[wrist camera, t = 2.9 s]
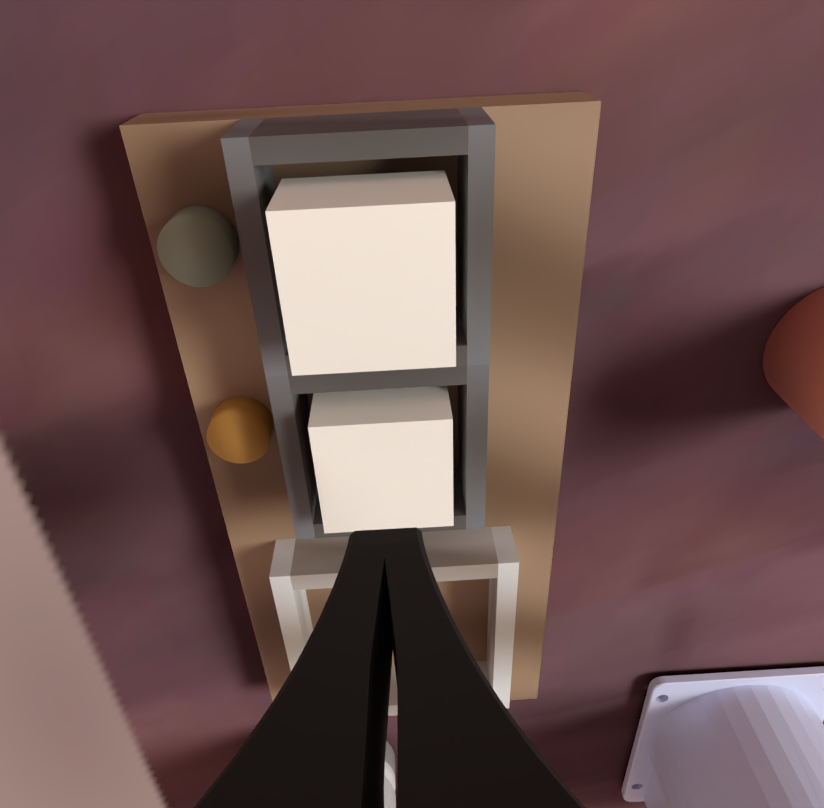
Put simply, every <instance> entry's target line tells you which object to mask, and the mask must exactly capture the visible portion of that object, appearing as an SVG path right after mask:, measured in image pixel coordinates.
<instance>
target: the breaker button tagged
mask: <svg viewBox="0 0 824 808" xmlns="http://www.w3.org/2000/svg"><path fill="white" fill-rule="evenodd" d="M308 431H309V438H310V444H311V451H312V457H313V463H314V470H315V476H316V483H317V489H318V496H319V502H320V508H321V515H322V521H323V528H324V534H325V533H342V532H354V531H361V530H378V529H396V528H414V527H416V528H427V527H444V526H454V512H453V418H452V412H451V406H450V400H449V394H448V388H447V386H431V387H413V388H396V389H378V390H360V391H342V392H324V393H313V399H312V405H311V411H310V418H309V424H308Z"/></svg>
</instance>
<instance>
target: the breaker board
mask: <svg viewBox="0 0 824 808" xmlns="http://www.w3.org/2000/svg"><path fill="white" fill-rule="evenodd" d="M600 108H601V100H599V99H597V98H595V97H593V96H591V95H589V94H587V93H585V92H583V91H573V92H553V93H534V94H514V95H494V96H475V97H455V98H435V99H416V100H396V101H376V102H357V103H337V104H317V105H298V106H278V107H258V108H239V109H219V110H199V111H180V112H160V113H141V114H140V115H138V116H136V117H134V118H132V119H130V120H128V121H127V122H125V123H123V124H121V125H119V127H120V131H121V135H122V138H123V142H124V146H125V150H126V153H127V157H128V161H129V165H130V168H131V172H132V176H133V180H134V183H135V187H136V191H137V195H138V198H139V202H140V206H141V210H142V213H143V217H144V221H145V225H146V228H147V232H148V236H149V240H150V243H151V247H152V251H153V255H154V258H155V262H156V266H157V270H158V273H159V277H160V281H161V285H162V288H163V292H164V296H165V300H166V303H167V307H168V311H169V314H170V318H171V322H172V326H173V329H174V333H175V337H176V341H177V344H178V348H179V352H180V356H181V359H182V363H183V367H184V371H185V374H186V378H187V382H188V386H189V389H190V393H191V397H192V401H193V404H194V408H195V412H196V416H197V419H198V423H199V427H200V431H201V434H202V438H203V442H204V446H205V449H206V453H207V457H208V461H209V464H210V468H211V472H212V476H213V479H214V483H215V487H216V491H217V494H218V498H219V502H220V506H221V509H222V513H223V517H224V521H225V524H226V528H227V532H228V536H229V539H230V543H231V547H232V551H233V554H234V558H235V562H236V566H237V569H238V573H239V577H240V581H241V584H242V588H243V592H244V596H245V599H246V603H247V607H248V611H249V614H250V618H251V622H252V626H253V629H254V633H255V637H256V641H257V644H258V648H259V652H260V656H261V659H262V663H263V667H264V671H265V674H266V678H267V682H268V686H269V689H270V693H271V697H272V701H273V700H274V699H275V697H276V696H277V694H278V692H279V691H280V689H281V688H282V686H283V684H284V683H285V681H286V679H287V678H288V676H289V674H290V672H291V671H292V669H293V667H294V665H295V664H296V662H297V660H298V658H299V657H300V655H301V653H302V651H303V649H304V647H305V645H306V643H307V641H308V639H309V637H310V635H311V633H312V631H313V629H314V628H315V626H316V624H317V621H318V619H319V617H320V615H321V613H322V611H323V608H324V606H325V604H326V601H327V599H328V597H329V595H330V592H331V590H332V588H333V585H334V583H335V580H336V578H337V575H338V572H339V570H340V567H341V564H342V561H343V558H344V555H345V552H346V548H347V545H348V540H349V536H350V535H351V534H352V533H353V532H342V533H325V534H324V528H323V521H322V515H321V508H320V502H319V496H318V489H317V483H316V476H315V470H314V463H313V457H312V451H311V444H310V438H309V431H308V424H309V418H310V411H311V405H312V399H313V393H324V392H342V391H360V390H378V389H396V388H413V387H431V386H447V388H448V394H449V400H450V406H451V412H452V418H453V512H454V526H444V527H427V528H418V529H419V530H420V531H422V536H423V541H424V545H425V550H426V553H427V557H428V560H429V563H430V566H431V568H432V571H433V574H434V576H435V579H436V582H437V584H438V587H439V589H440V591H441V594H442V596H443V598H444V600H445V602H446V604H447V607H448V609H449V611H450V613H451V615H452V617H453V619H454V621H455V623H456V625H457V627H458V629H459V631H460V633H461V635H462V637H463V639H464V641H465V642H466V644H467V646H468V648H469V650H470V652H471V653H472V655H473V657H474V659H475V660H476V662H477V664H478V665H479V667H480V669H481V670H482V672H483V674H484V675H485V677H486V678H487V680H488V682H489V683H490V685H491V686H492V688H493V689H494V691H495V693H496V694H497V696H498V697H499V699H500V700H501V701H502V703H503V704H504V706H505V707H506V708H509V703H510V700H519V699H535V698H537V693H538V684H539V675H540V666H541V656H542V647H543V638H544V628H545V619H546V610H547V601H548V591H549V582H550V573H551V563H552V554H553V545H554V536H555V526H556V517H557V508H558V498H559V489H560V480H561V471H562V461H563V452H564V443H565V433H566V424H567V415H568V405H569V396H570V387H571V378H572V368H573V359H574V350H575V340H576V331H577V322H578V313H579V303H580V294H581V285H582V275H583V266H584V257H585V248H586V238H587V229H588V220H589V210H590V201H591V192H592V183H593V173H594V164H595V155H596V145H597V136H598V127H599V118H600ZM439 170H445V173H446V176H447V179H448V182H449V185H450V188H451V190H452V193H453V196H454V199H455V245H456V367H441V368H423V369H405V370H387V371H370V372H352V373H334V374H316V375H298V376H292V372H291V366H290V360H289V354H288V348H287V342H286V336H285V329H284V323H283V317H282V311H281V305H280V299H279V293H278V287H277V281H276V275H275V268H274V262H273V256H272V250H271V244H270V238H269V232H268V226H267V220H266V213H265V211H266V209H267V207H268V205H269V203H270V201H271V199H272V197H273V195H274V193H275V191H276V189H277V187H278V185H279V183H280V181H281V179H286V178H305V177H324V176H343V175H362V174H381V173H401V172H420V171H439ZM394 715H398V704H397V681H396V673H395V664H394V655H393V653H392V668H391V682H390V696H389V710H388V716H394Z"/></svg>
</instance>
